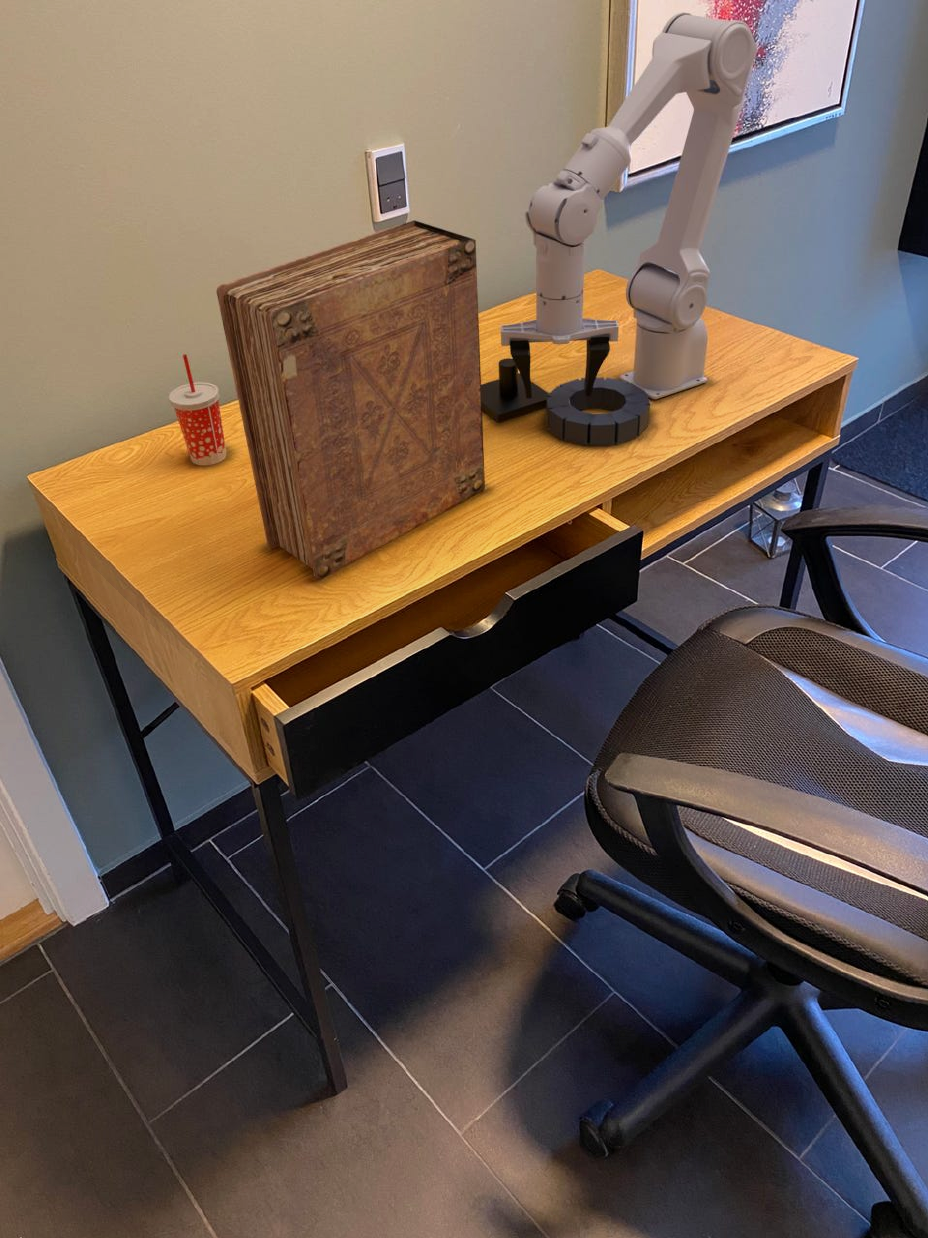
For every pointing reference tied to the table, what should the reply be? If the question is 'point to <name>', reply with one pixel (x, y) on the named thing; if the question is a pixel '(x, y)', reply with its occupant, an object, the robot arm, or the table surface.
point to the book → (359, 389)
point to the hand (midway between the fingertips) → (558, 393)
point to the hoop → (597, 427)
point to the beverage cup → (200, 420)
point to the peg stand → (510, 394)
